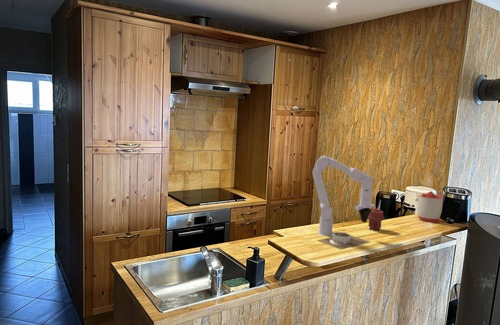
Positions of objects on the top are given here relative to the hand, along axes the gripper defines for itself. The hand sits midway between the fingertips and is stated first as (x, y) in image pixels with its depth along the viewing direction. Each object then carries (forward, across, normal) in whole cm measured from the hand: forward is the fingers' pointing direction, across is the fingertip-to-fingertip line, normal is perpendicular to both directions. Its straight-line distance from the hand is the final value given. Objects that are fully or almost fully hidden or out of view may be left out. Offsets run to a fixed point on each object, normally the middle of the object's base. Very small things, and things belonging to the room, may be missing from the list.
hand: (363, 221), depth 202 cm
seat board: (+9, -15, +1) cm, 18 cm away
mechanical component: (+10, +23, +8) cm, 26 cm away
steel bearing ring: (+9, -17, 0) cm, 20 cm away
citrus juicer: (+10, +78, +6) cm, 79 cm away
